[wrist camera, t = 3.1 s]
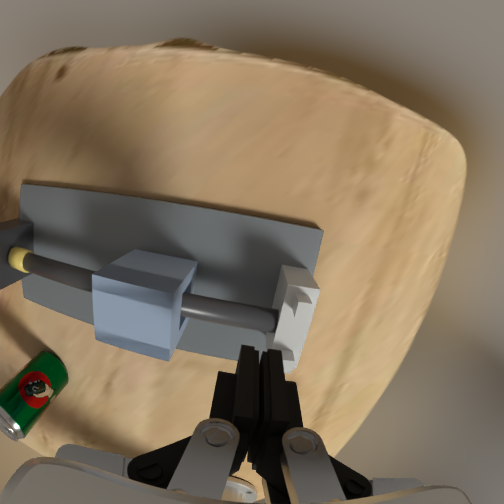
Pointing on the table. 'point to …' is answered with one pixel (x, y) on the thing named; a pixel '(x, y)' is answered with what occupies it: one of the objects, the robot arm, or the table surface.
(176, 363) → the table surface
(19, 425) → the soda can
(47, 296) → the linear slide rail
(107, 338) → the sleeve
